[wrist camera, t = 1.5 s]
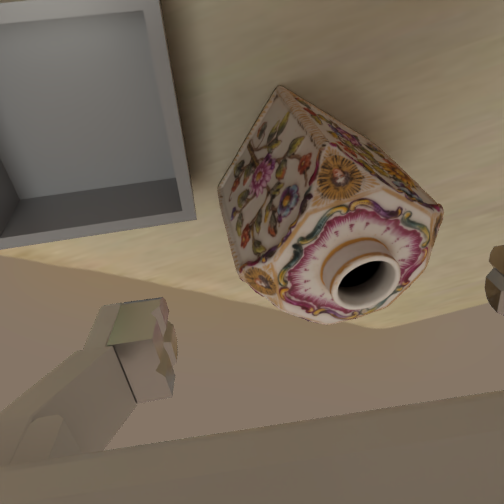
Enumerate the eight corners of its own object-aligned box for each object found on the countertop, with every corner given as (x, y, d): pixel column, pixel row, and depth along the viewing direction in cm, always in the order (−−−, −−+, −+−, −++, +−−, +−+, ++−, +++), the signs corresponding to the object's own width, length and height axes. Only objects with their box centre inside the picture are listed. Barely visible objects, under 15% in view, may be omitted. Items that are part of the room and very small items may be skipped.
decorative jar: (277, 79, 35) (358, 172, 21) (374, 139, 40) (492, 247, 26) (211, 191, 40) (241, 327, 26) (305, 232, 45) (371, 363, 31)
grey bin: (-84, 1, 28) (-143, 16, 22) (156, -21, 29) (156, -12, 24) (15, 205, 37) (-9, 250, 32) (191, 180, 39) (196, 219, 34)
